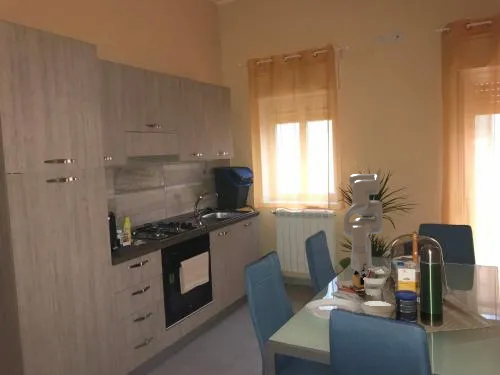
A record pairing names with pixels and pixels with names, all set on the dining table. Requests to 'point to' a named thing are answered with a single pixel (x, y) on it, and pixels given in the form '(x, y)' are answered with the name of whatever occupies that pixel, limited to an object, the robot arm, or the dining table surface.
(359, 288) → the base plate
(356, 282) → the orange cube
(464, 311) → the dining table surface
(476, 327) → the dining table surface
